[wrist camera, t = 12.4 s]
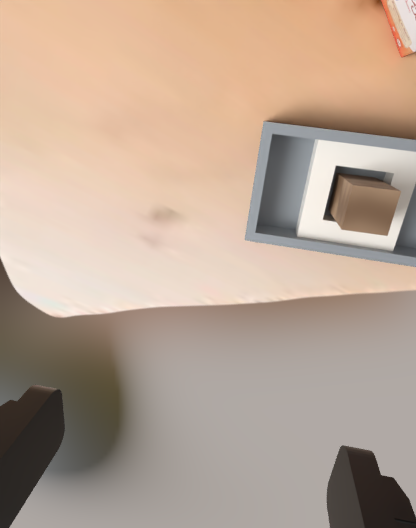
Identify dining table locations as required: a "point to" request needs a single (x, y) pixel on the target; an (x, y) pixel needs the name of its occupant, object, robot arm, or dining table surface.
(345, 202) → the peg
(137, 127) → the dining table surface
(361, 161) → the walled box
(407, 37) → the cracker box
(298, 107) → the dining table surface
